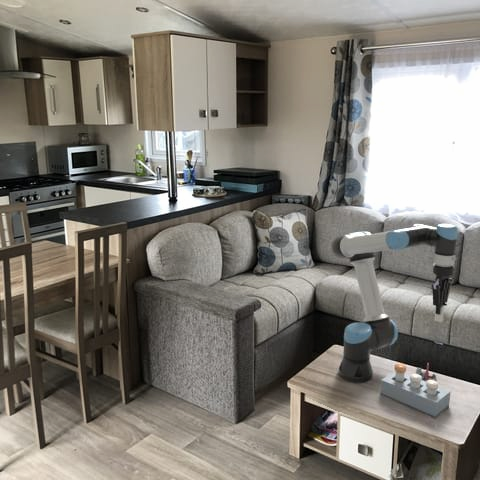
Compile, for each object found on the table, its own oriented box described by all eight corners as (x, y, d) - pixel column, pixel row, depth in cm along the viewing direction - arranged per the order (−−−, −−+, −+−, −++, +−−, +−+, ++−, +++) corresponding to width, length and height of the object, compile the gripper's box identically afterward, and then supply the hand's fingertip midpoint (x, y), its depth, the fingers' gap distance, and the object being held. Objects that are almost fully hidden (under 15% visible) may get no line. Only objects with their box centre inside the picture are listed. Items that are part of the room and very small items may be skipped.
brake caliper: (442, 391, 210) (425, 366, 210) (419, 400, 215) (403, 377, 215) (443, 378, 220) (427, 355, 220) (421, 388, 225) (405, 365, 225)
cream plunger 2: (422, 402, 202) (424, 382, 199) (427, 398, 205) (429, 378, 203) (433, 407, 198) (435, 387, 196) (438, 402, 201) (440, 382, 199)
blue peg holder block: (380, 394, 211) (381, 379, 210) (395, 384, 219) (396, 370, 218) (435, 418, 194) (436, 402, 193) (448, 406, 202) (450, 391, 201)
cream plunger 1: (406, 395, 207) (407, 376, 204) (411, 391, 210) (413, 372, 208) (416, 400, 203) (418, 380, 201) (422, 395, 206) (424, 376, 204)
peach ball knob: (391, 385, 211) (392, 366, 209) (396, 381, 214) (398, 362, 212) (401, 389, 208) (402, 370, 206) (406, 385, 211) (408, 366, 209)
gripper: (445, 269, 188) (440, 328, 194) (460, 262, 197) (455, 319, 202) (426, 265, 193) (421, 322, 199) (442, 259, 202) (437, 314, 208)
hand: (438, 320), depth 201 cm, fingers closed
